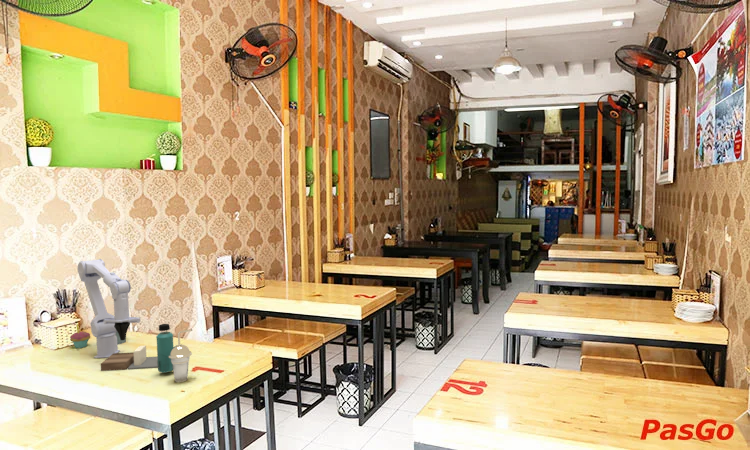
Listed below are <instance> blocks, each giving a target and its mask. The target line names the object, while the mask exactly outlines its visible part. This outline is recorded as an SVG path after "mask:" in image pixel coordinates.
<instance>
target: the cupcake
mask: <svg viewBox="0 0 750 450" xmlns="http://www.w3.org/2000/svg"><path fill="white" fill-rule="evenodd" d="M69 338H70V339H69V340H70V342H71V343H72V344H73V346H74V347H75V349H81V348H86V347H87V345H88V342H89V340H90V339H91V333H89V332H87V331H84V330H83V331H80V328H79V324H78V323H76V332H74V333H73V334H71V335H70V337H69Z"/></svg>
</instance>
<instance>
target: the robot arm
mask: <svg viewBox="0 0 750 450" xmlns="http://www.w3.org/2000/svg"><path fill="white" fill-rule="evenodd" d="M77 273H78V276H79V278H80V282H83V283H84V286H85V289H86V292H87V295H88V298H89V302H90V304H91V308H92V311H93V314H94V318H93V319H92V320H91V321H90V327H91V328H90V330H91V334H92V336H93V337H95V338H96V352H97V353H96V355H94V356H93V359H102V358H108V357H110V356H111V355H112V354H113V353H120V352H121V350H120V349H119V348H118V346H119V345H117V337H116V332H118V334H119V336H120V340H125V339H126V340H127V334H128V330H129V328H130V325H131V323H134V324H135V323H136V324H139V323H141V317H134V316H130V308H129V306H130V305H129V293H130V292H131V289H132V288H131V283H130V281H129V279H122V278H121V277H120V276H119V275H118V274H116V272H114V271H113V272H112V271H110V270H109V269H108V268H107V267H106V262H105V261H104V260H103V258H98V259H92V260H91V259H90V260H80V261H79V262H78V264H77ZM101 278H102V281H103V283H104V284H105V285H106V286H107V287H108V288H109V290H110V293H111V298H112V299H113V310H114V311H113V312H114V314H112V313H109V312H108V311H107V307H106V305H105V301H104V299H103V295H102V292H101V289H100V287H99V282H98V281H99V280H100V279H101Z"/></svg>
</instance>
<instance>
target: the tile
mask: <svg viewBox="0 0 750 450" xmlns="http://www.w3.org/2000/svg"><path fill="white" fill-rule="evenodd" d="M133 352H134V365H141V364H142V363H143V362H144V361H145V360H146V359H147V358H146V357H147V345H139V346H138V347H137V348H136V349H135V350H133Z"/></svg>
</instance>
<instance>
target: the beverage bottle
mask: <svg viewBox="0 0 750 450" xmlns="http://www.w3.org/2000/svg"><path fill="white" fill-rule="evenodd" d="M170 329H171V328H170V324H169V323H162V324H159V325H158V331H159V333H158V334H157V335H156V337H155V338H156V352H157V354H156V355H157V356H156V357H158V360H157V362H158V363H157V365H158V368H157V371H158V372H159V373H169V372H173V367H172V363H171V358H169V357H168V356H169V354H170V352H171V350H172V348H173V347H174V334H173V333H172V332H171V331H169V330H170Z"/></svg>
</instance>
